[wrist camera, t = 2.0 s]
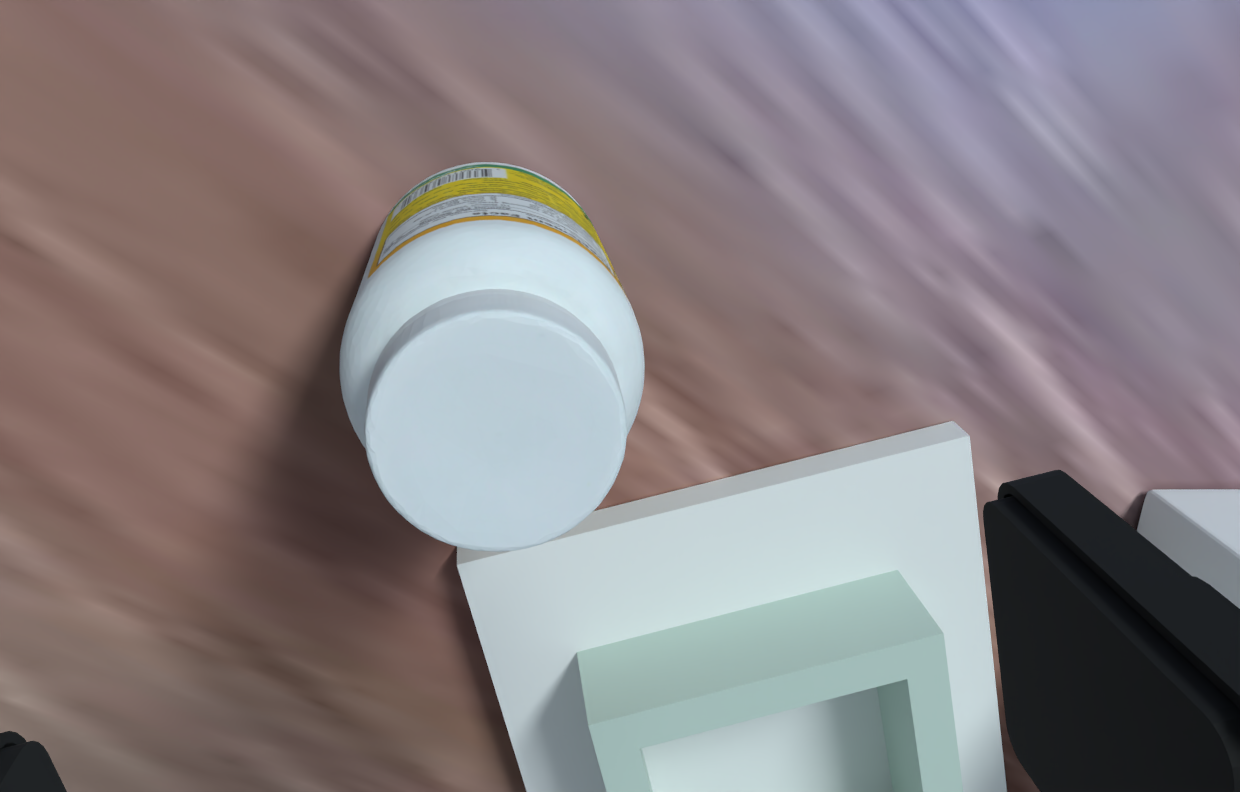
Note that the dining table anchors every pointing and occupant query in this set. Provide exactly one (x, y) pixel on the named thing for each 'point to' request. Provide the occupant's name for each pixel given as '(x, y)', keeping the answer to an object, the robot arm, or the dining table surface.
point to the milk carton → (1198, 533)
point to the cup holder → (756, 633)
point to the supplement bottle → (491, 359)
